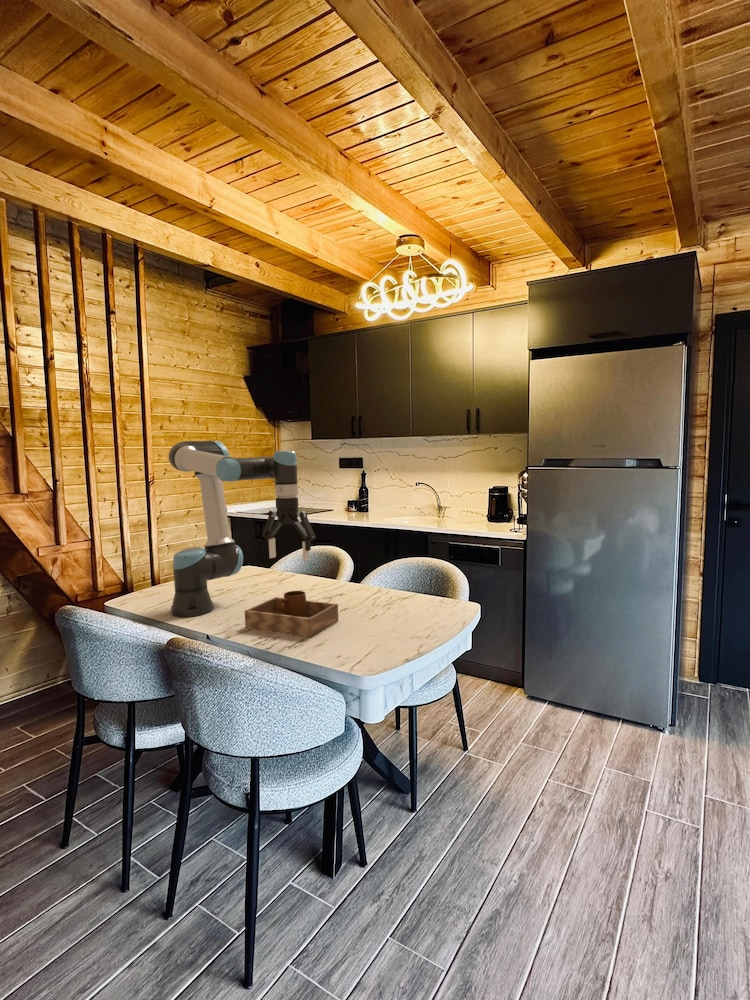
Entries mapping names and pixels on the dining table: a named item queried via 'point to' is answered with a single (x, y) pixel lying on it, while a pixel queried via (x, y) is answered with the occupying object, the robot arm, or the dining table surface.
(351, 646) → the dining table surface
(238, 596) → the dining table surface
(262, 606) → the crate
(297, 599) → the mug
